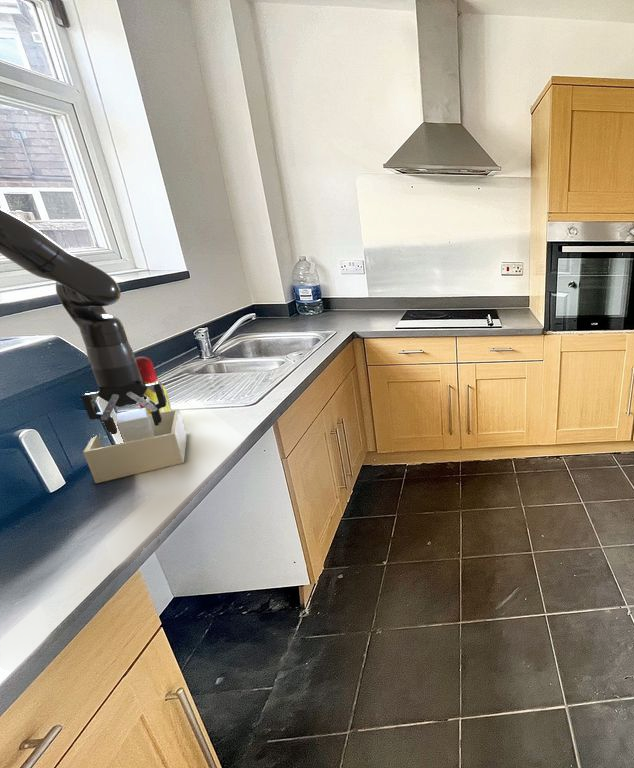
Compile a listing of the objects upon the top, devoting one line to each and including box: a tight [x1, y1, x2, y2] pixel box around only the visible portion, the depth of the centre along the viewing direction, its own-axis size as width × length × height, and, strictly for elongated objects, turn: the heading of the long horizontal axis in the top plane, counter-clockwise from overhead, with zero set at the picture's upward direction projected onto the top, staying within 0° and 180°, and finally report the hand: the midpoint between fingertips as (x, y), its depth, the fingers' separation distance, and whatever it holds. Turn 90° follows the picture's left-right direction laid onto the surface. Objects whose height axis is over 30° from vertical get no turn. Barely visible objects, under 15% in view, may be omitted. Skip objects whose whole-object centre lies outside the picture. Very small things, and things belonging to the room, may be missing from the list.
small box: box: [115, 408, 155, 443], centre depth 100 cm, size 8×6×10 cm
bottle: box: [135, 356, 172, 415], centre depth 117 cm, size 12×6×20 cm, turn 30°
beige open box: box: [82, 408, 188, 484], centre depth 101 cm, size 16×18×8 cm
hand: (136, 428), depth 99 cm, fingers open, 7 cm apart
